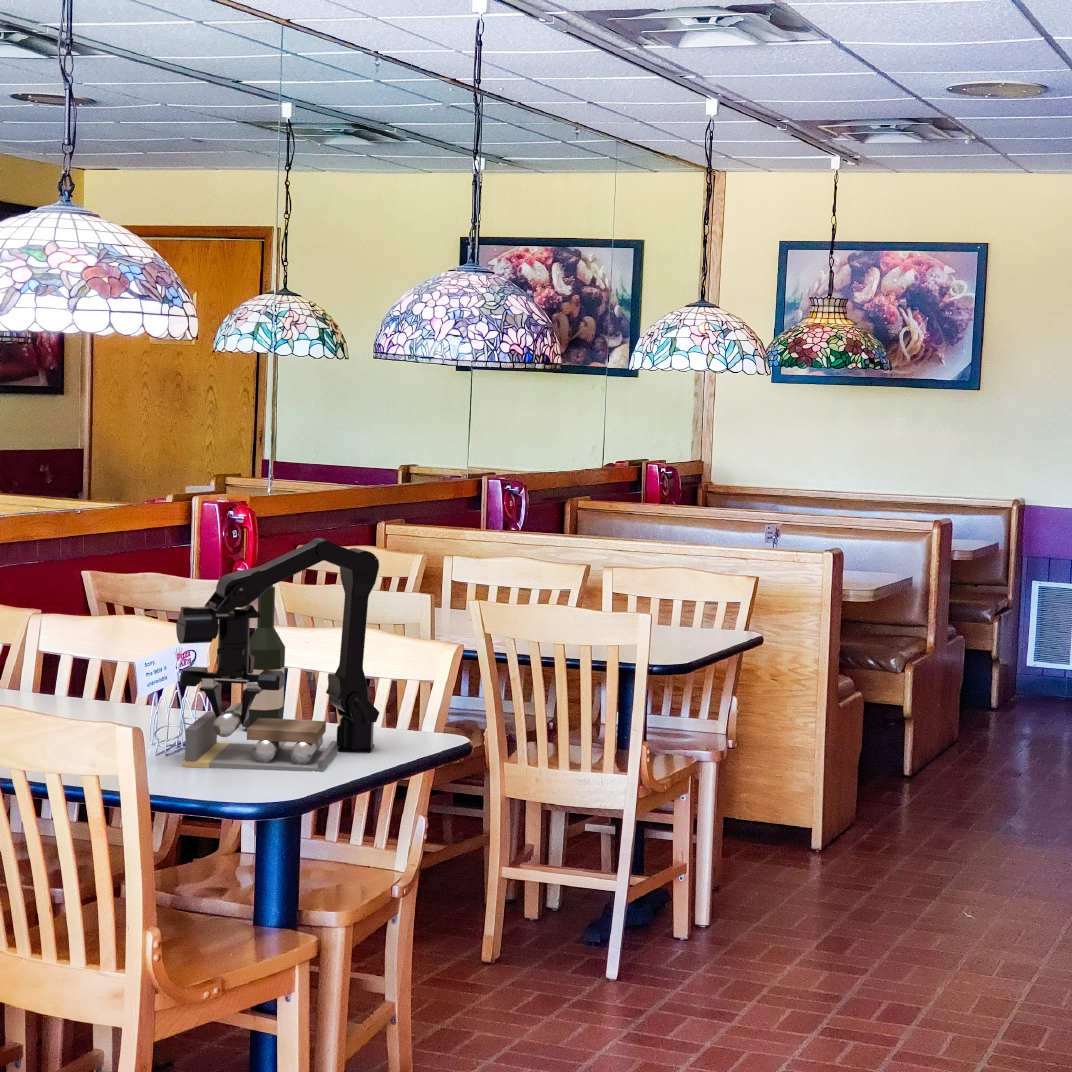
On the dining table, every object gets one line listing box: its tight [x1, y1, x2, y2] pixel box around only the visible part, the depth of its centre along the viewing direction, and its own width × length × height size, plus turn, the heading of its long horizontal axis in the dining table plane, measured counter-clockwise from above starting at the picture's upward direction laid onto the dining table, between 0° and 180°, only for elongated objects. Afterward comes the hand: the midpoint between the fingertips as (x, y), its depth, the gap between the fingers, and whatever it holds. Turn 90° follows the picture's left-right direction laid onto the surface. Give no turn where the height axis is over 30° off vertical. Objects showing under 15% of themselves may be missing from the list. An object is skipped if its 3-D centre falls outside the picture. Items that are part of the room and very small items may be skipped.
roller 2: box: [253, 740, 287, 763], centre depth 278 cm, size 12×4×4 cm, turn 178°
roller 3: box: [290, 736, 324, 765], centre depth 278 cm, size 12×4×4 cm, turn 178°
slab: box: [246, 718, 327, 743], centre depth 277 cm, size 13×10×2 cm
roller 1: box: [213, 702, 249, 738], centre depth 278 cm, size 12×4×4 cm, turn 178°
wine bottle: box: [241, 585, 286, 729], centre depth 306 cm, size 8×8×30 cm
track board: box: [181, 711, 338, 773], centre depth 278 cm, size 26×16×7 cm, turn 88°
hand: (231, 723), depth 278 cm, fingers closed on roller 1, 4 cm apart
